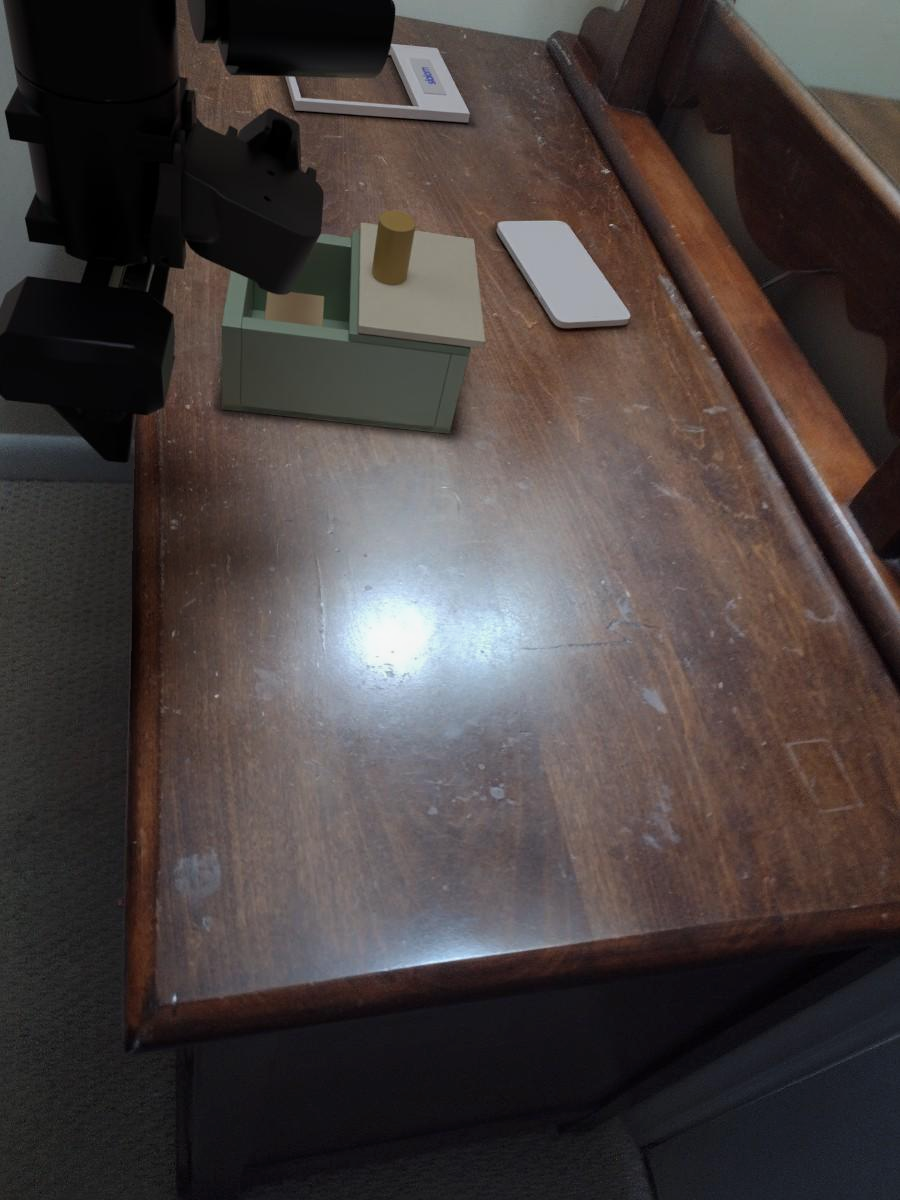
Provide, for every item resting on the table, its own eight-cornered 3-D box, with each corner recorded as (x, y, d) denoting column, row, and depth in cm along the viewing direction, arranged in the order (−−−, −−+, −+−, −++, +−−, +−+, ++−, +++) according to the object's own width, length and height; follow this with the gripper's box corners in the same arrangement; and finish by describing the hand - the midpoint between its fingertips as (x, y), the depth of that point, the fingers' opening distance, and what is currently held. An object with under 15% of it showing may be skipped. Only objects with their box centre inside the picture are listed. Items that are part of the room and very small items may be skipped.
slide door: (357, 333, 59) (365, 270, 56) (359, 229, 66) (367, 168, 63) (483, 349, 61) (499, 288, 57) (472, 246, 68) (485, 186, 64)
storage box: (222, 409, 64) (221, 317, 58) (238, 304, 71) (238, 213, 65) (449, 434, 66) (470, 348, 60) (442, 331, 74) (461, 245, 68)
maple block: (262, 369, 66) (263, 323, 63) (265, 334, 68) (267, 288, 65) (318, 376, 67) (322, 330, 64) (320, 341, 69) (324, 296, 66)
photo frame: (470, 111, 95) (295, 98, 90) (468, 122, 96) (294, 110, 90) (437, 46, 103) (275, 30, 98) (435, 56, 104) (274, 41, 99)
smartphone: (565, 220, 86) (634, 318, 78) (563, 227, 87) (631, 326, 79) (494, 221, 84) (558, 323, 76) (492, 228, 84) (555, 330, 76)
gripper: (308, 240, 30) (285, 551, 42) (327, 3, 41) (305, 303, 53) (-67, 186, 28) (24, 529, 40) (62, -47, 39) (102, 276, 51)
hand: (133, 394), depth 46 cm, fingers open, 9 cm apart
